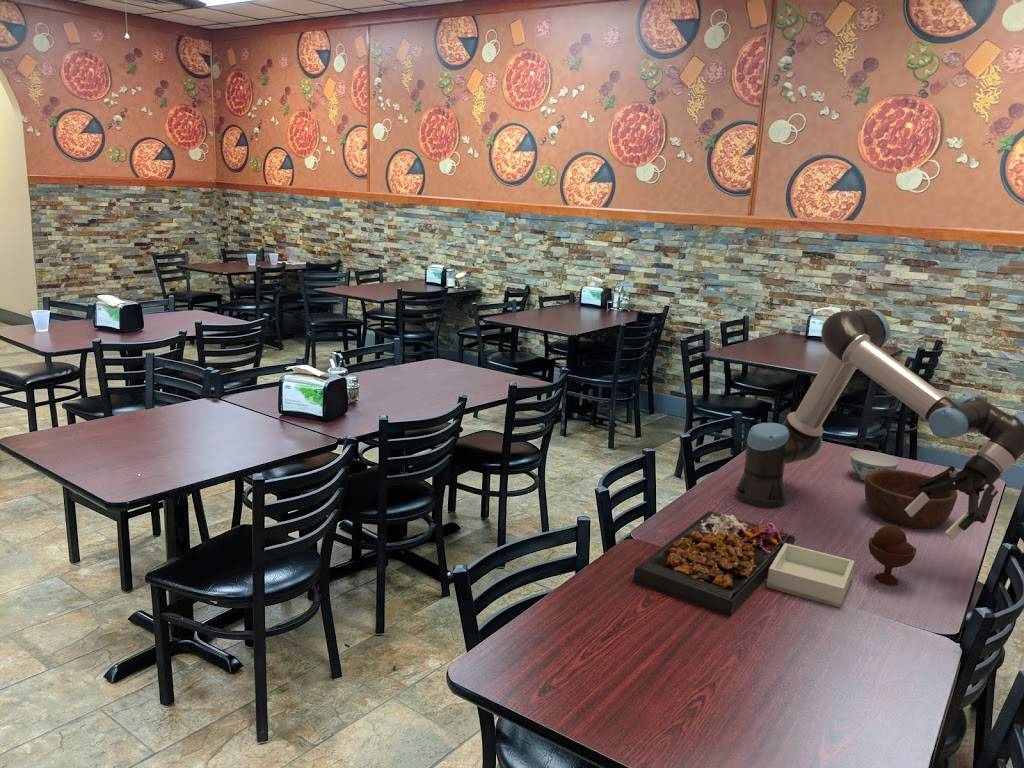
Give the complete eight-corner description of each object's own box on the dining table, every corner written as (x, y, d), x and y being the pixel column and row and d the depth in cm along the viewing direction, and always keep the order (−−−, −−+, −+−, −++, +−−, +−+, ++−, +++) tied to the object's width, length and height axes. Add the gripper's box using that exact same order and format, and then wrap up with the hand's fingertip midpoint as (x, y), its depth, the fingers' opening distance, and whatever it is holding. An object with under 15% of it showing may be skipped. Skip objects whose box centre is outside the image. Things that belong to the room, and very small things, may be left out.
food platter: (707, 525, 230) (711, 491, 227) (793, 550, 216) (798, 515, 213) (633, 583, 194) (637, 545, 192) (730, 619, 180) (735, 578, 178)
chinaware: (897, 478, 273) (901, 456, 271) (891, 491, 260) (895, 469, 259) (851, 468, 280) (854, 447, 279) (842, 480, 268) (846, 459, 266)
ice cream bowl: (915, 593, 194) (926, 537, 191) (867, 587, 196) (876, 531, 193) (904, 573, 204) (914, 519, 201) (858, 567, 207) (867, 513, 203)
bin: (766, 587, 194) (769, 568, 193) (782, 560, 209) (784, 542, 207) (840, 608, 186) (843, 588, 185) (851, 578, 200) (854, 560, 199)
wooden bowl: (958, 539, 226) (965, 506, 224) (863, 524, 234) (869, 491, 231) (943, 507, 249) (949, 476, 247) (857, 494, 257) (862, 464, 254)
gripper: (1038, 492, 188) (974, 556, 188) (956, 457, 211) (899, 513, 211) (1024, 472, 185) (959, 537, 185) (943, 438, 209) (885, 495, 209)
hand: (927, 524), depth 198 cm, fingers open, 13 cm apart
